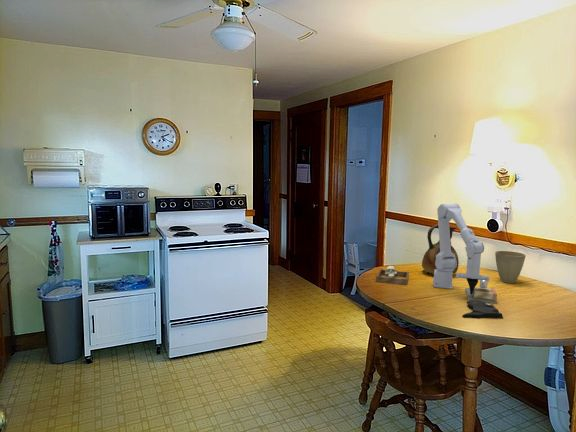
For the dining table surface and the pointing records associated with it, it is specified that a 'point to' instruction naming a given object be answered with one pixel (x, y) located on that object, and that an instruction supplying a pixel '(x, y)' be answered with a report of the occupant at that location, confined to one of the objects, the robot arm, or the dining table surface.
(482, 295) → the wooden square ring
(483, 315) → the stone slab
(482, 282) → the peg
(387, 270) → the skull
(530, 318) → the dining table surface
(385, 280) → the coaster frame
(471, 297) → the board
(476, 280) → the robot arm
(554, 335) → the dining table surface
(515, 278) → the plant pot
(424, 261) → the ceramic pitcher
